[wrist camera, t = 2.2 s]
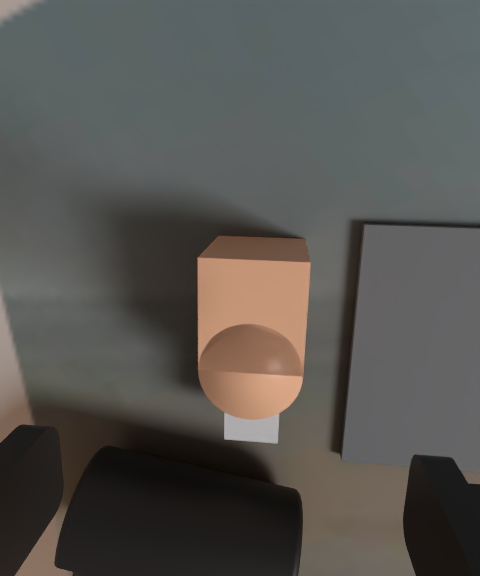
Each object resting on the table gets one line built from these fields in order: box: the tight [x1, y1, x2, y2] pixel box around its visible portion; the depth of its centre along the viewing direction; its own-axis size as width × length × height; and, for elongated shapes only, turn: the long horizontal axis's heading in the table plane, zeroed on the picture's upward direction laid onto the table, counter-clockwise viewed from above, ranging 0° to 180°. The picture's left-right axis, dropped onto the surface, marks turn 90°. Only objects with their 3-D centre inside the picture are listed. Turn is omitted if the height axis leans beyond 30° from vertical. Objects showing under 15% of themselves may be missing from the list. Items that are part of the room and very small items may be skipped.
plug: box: [198, 236, 311, 444], centre depth 19 cm, size 9×4×5 cm, turn 179°
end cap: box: [54, 446, 303, 576], centre depth 22 cm, size 10×7×7 cm
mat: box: [340, 223, 480, 472], centre depth 21 cm, size 12×9×1 cm
